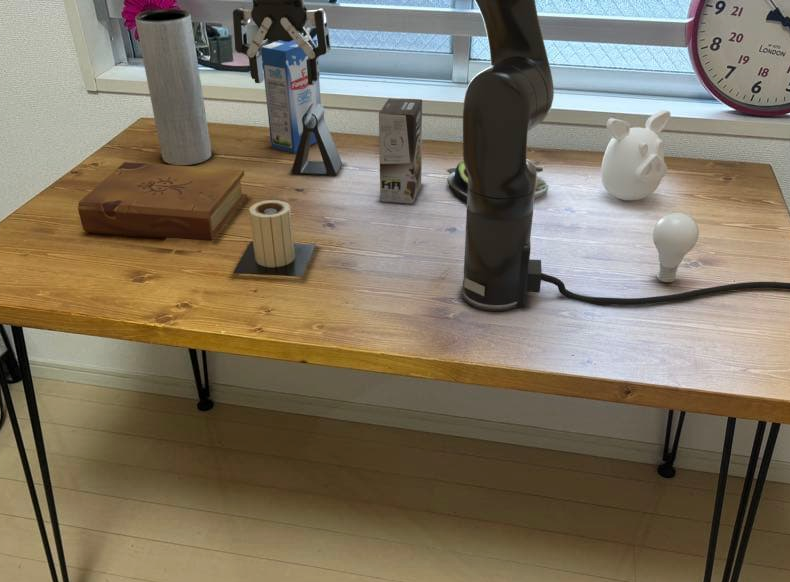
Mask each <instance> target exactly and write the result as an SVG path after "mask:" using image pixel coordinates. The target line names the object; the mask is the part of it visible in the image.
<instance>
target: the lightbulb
mask: <svg viewBox="0 0 790 582" xmlns="http://www.w3.org/2000/svg"><path fill="white" fill-rule="evenodd" d="M698 238H699V226H698V224H697V222H696V220H695V219H694V217H692V216H690V215H689V214H687V213H685V212H679V211H676V212H670V213H667V214H665V215H664V216H662V217H661V218H660V219H659V220H658V221H657V223H656V224H655V226H654V228H653V231H652V240H653V245H654V246H655V248H656V250H657V254H658V261H659V266H658V271H657V274H656V278H657V279H658V280H659V281H661V282H662V283H665V284H666V283H672V282H673V281H676V277H677V272H678V269H679V268H678V267H679V266H680V264H681V263H682V261H683V259H684V258H685V256H686V255H687V254H689V253H690V252H691V251H692V249H694V247H696V244H697V242H698V241H699V239H698Z"/></svg>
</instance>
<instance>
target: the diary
mask: <svg viewBox="0 0 790 582" xmlns="http://www.w3.org/2000/svg"><path fill="white" fill-rule="evenodd" d="M244 176H245V170H244V169H237V168H222V167H207V166H206V167H205V166H193V165H184V166H180V165H172V164H160V163H159V164H158V163H147V162H146V163H145V162H144V163H143V162H129V161H124V162H123V163H122V164H120V166H118V167H117V168H116V169H115V170H114V171H113V172H111V173H110V174H109V175H107V177H106V178H105V179H103V180H102V181H101V182H100V183H99V184H98V185H96V186H95V187H94V188H93V189H92V190H90V192H89V193H88V194H86V195H85V196H84V197H83V198H81V199H80V200H79V201H78V206H77V211H78V215H79V218H80V222H81V226H82V230H83V231H84V232H85V233H88V234H102V235H114V236H127V237H139V238H150V239H151V238H152V239H164V240H166V239H167V238H175V239H176V238H177V239H188V240H189V239H190V240H191V239H192V240H203V241H213V240H214V239H215V238H216V236H217V235H218V234H219V233H220V231H221V230H222V229H223V228H224V226H225V225H226V223H227V222H228V221H229V220H230V218H231V217H232V215H233V214H234V213H235V211H236V210H238V208H239V207H240V205H245V203H246V201H247V200H248V194H247V193H243V191H242V181H241V180H242V178H243V177H244Z"/></svg>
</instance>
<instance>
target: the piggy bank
mask: <svg viewBox="0 0 790 582" xmlns="http://www.w3.org/2000/svg"><path fill="white" fill-rule="evenodd" d="M670 119H671V111H669V110H667V109H661V110H660V111H658V112H655V113H654V114H652V115H651V116H649V117H648V118H647V120H646V121H645V127H638V126H636V127H631V125H630V124H629V122H627V121H625V120H622V119H618V118H614V117H610V118H608V119H607V122H606V131H607V134H608V135H609V136H610V137H611V139H610V140H609V142H608V145H607V147H606V149H605V152H604V154H603V158H602V162H601V166H600V179H601V183H602V187H604V190H606V192H607V193H608V194H610V195H611V196H613V197H615V198H616V199H619V200H622V201H623V200H624V201H638V200H642V199H644V198H646V197H648V196H649V197H650V195H652V194H653V193H654V192H656V190H657V189H658V188H659V186H660V184H661V182H662V180H663V178H664V177H665V176H666V175H667V172H668V166H667V163H666V162H665V151H664V145H665V143H664V140H662V139H661V138H660V137H659V135H658V134H660V133H661V132H663V130H665V128H666V127H667V125H668V124H669V121H670Z"/></svg>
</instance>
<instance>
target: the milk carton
mask: <svg viewBox="0 0 790 582" xmlns="http://www.w3.org/2000/svg"><path fill="white" fill-rule="evenodd" d="M297 38H298V37H297ZM311 39H312V41H313V42H314V44H315V45H316V46H318V42H317V39H315V38H314V39H313V38H311ZM260 55H261V58H262V67H263V77H264V80H263V83H264V89H265V100H266V109H267V117H268V126H269V137H270V143H271V144H270V145H271V148H272V149H277V150H280V151H285V152H288V153H293V154H296V153H297V150H298V146H299V143H300V139H301V135H302V132H303V123H302V118H303V116H304V114H305V113H306V111H307V110H308V108H309V107H310V106H311V104H313V103H314V106H313V107H312V109H311V113H312V112H313V111H314V109H315V108H316V106H317V105H318V103H319V104H321V105H322V101H321V99H322V98H321V85H320V78H319V79H318V80H317V81H316V83H315V84H314V85H309V84H308V74H307V61H306V60H307V59H308V56H307V55H306V54H305V52H304V51H303V50H302V48H301V47H299V46H298V45H297V44H296V42H295V41H294V40H292V41H291V42H284V41H281V40H279V41H275V42H270V43H268V44H264V45H263V47H262V49H261V51H260ZM314 118H315V117H314ZM316 143H317V141H316V137H315V134H314V133H313V132H312V137H311V143H310V146H312V145H313V144H316Z"/></svg>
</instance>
